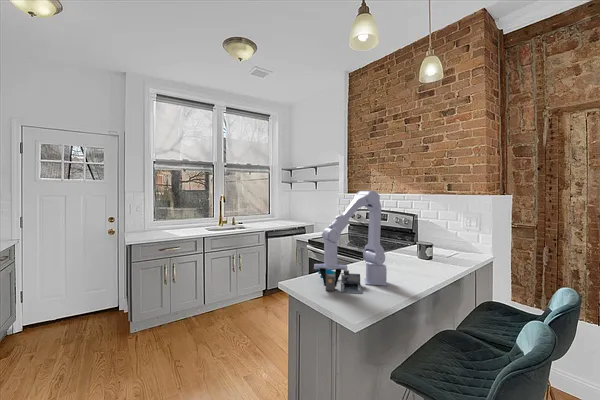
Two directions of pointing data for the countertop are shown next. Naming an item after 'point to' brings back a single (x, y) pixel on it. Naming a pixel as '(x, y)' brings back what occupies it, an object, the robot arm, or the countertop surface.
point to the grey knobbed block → (330, 282)
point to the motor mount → (350, 283)
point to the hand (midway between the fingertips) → (330, 285)
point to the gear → (327, 272)
